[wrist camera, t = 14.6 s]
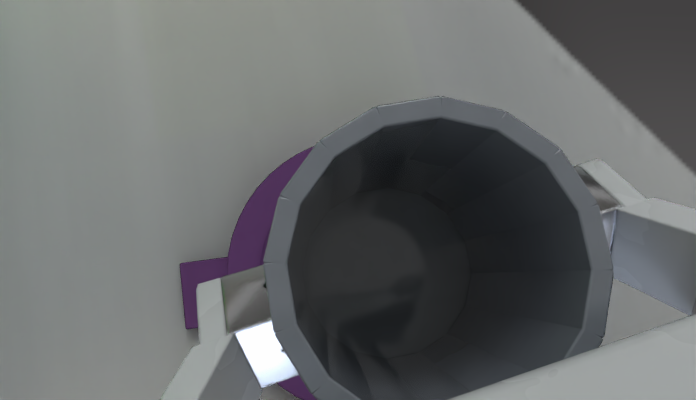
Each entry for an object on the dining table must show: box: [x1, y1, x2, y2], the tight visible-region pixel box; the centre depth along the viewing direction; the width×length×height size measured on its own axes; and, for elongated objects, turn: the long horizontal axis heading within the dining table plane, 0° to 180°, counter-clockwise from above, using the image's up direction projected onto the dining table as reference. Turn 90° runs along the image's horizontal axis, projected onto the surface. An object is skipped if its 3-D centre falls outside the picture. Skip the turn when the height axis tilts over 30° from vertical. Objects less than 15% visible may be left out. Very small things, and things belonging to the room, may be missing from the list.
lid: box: [180, 146, 317, 400], centre depth 23 cm, size 13×11×1 cm
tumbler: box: [263, 96, 614, 400], centre depth 14 cm, size 6×6×8 cm
